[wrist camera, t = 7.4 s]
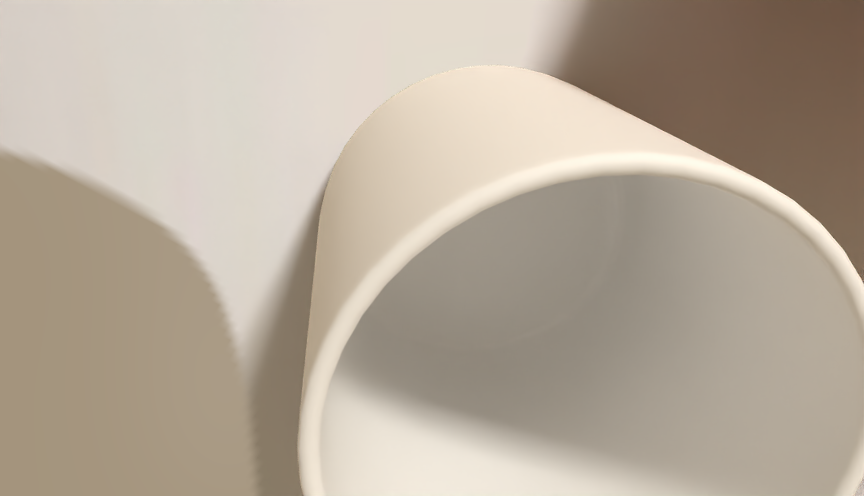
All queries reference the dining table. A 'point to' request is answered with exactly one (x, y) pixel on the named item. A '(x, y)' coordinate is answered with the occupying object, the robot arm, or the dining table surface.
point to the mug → (569, 310)
